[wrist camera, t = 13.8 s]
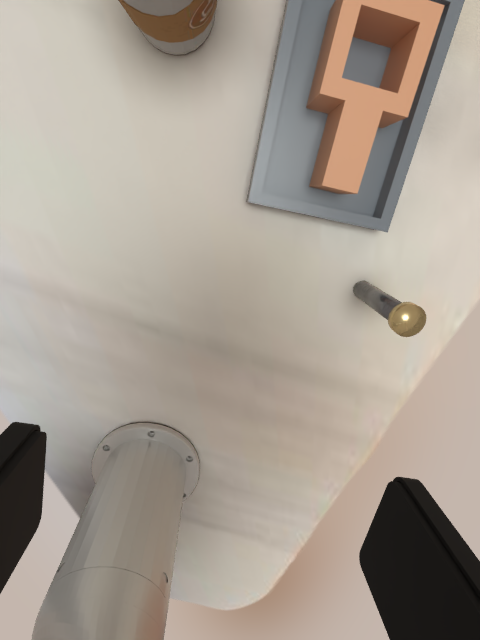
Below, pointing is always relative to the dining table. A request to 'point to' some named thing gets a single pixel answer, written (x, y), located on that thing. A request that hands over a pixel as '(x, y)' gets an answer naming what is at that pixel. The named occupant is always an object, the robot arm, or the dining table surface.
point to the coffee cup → (173, 22)
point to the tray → (308, 125)
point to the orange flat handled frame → (360, 99)
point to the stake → (392, 309)
